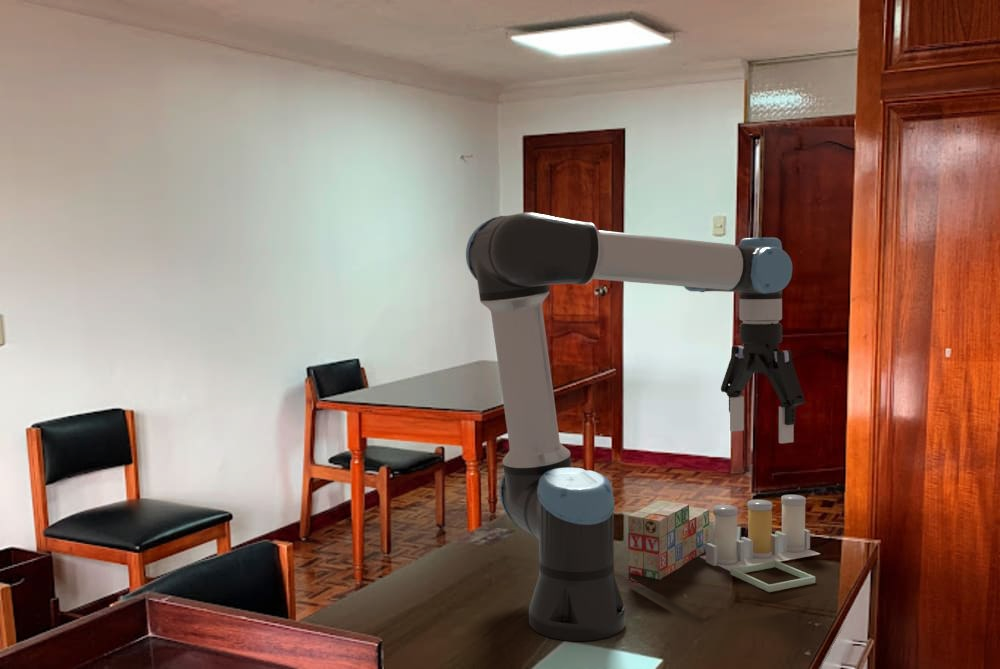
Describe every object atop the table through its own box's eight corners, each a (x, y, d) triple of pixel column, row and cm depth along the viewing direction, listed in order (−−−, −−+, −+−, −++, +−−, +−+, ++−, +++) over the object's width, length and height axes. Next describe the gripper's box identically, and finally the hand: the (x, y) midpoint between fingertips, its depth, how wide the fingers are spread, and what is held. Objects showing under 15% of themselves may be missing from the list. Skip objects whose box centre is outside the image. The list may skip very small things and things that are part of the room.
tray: (768, 600, 152) (768, 586, 152) (730, 582, 161) (730, 568, 161) (815, 591, 156) (815, 576, 156) (775, 573, 165) (775, 560, 165)
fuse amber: (758, 560, 168) (758, 506, 168) (742, 553, 172) (742, 501, 172) (777, 556, 170) (777, 503, 169) (761, 550, 174) (761, 498, 173)
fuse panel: (725, 579, 163) (725, 552, 162) (694, 565, 171) (694, 538, 170) (822, 561, 172) (822, 535, 171) (789, 548, 180) (789, 523, 180)
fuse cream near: (722, 566, 165) (722, 512, 164) (707, 559, 169) (707, 506, 168) (742, 563, 167) (742, 509, 166) (727, 556, 171) (727, 503, 170)
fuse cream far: (792, 554, 172) (792, 501, 171) (776, 547, 176) (776, 496, 175) (810, 550, 173) (810, 498, 173) (794, 544, 177) (794, 493, 177)
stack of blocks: (680, 551, 180) (680, 489, 179) (710, 556, 176) (710, 493, 175) (627, 582, 163) (627, 514, 162) (659, 589, 159) (659, 519, 158)
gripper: (826, 324, 158) (825, 445, 160) (733, 318, 181) (733, 424, 183) (792, 326, 155) (791, 450, 157) (702, 319, 178) (702, 427, 180)
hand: (760, 436), depth 170 cm, fingers open, 13 cm apart
